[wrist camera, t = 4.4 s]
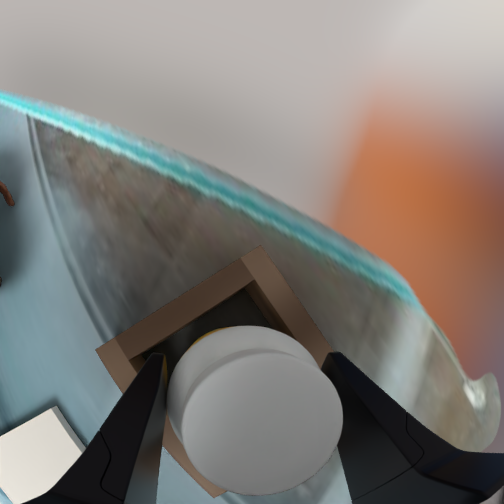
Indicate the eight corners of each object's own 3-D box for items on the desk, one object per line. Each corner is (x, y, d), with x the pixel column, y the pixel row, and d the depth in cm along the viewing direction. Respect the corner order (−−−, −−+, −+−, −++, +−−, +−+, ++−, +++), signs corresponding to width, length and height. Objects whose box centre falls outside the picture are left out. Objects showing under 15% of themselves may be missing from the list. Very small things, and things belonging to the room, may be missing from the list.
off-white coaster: (167, 530, 11) (166, 537, 10) (70, 552, 8) (67, 557, 7) (56, 405, 12) (50, 408, 11) (-20, 447, 9) (-25, 449, 8)
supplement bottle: (281, 332, 16) (380, 330, 7) (270, 420, 14) (349, 503, 5) (186, 320, 15) (164, 307, 6) (176, 412, 14) (150, 506, 5)
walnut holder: (337, 385, 16) (362, 394, 13) (210, 473, 13) (213, 498, 10) (250, 259, 17) (260, 244, 14) (113, 346, 14) (95, 349, 11)
